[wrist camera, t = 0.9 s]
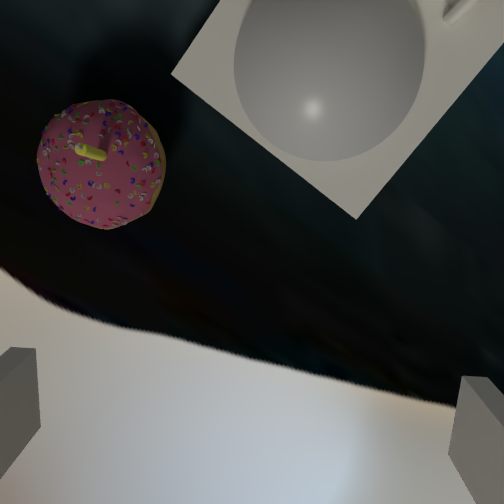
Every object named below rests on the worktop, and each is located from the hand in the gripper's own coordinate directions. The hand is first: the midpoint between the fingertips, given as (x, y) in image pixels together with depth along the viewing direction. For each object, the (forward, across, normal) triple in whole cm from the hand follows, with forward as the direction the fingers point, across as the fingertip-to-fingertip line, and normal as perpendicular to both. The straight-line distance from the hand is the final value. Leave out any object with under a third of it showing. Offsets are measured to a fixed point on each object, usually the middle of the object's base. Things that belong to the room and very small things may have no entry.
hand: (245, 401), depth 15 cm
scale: (+23, +5, +14) cm, 27 cm away
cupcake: (+24, -11, +5) cm, 26 cm away
